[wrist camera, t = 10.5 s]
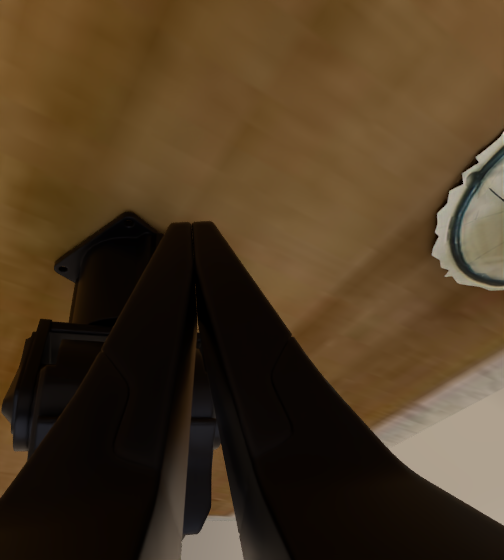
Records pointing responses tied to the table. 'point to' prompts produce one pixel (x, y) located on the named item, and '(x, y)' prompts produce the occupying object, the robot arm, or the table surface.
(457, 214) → the decorative vase
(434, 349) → the table surface
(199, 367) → the robot arm
